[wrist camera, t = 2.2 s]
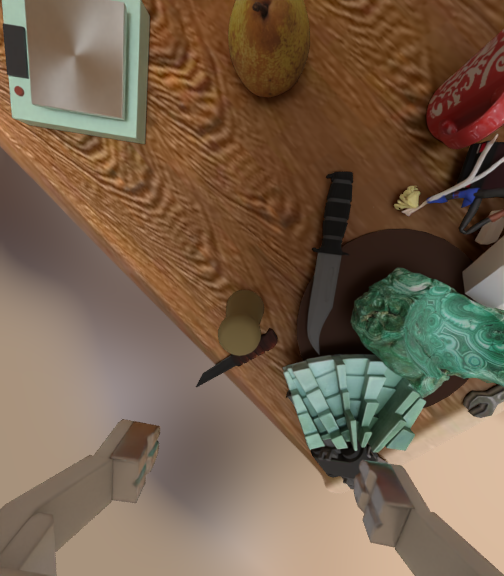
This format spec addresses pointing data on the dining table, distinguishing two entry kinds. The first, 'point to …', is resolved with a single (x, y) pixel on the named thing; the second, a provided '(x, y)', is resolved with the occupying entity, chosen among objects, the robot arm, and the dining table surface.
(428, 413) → the dining table surface
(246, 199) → the dining table surface
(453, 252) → the plate
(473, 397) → the wrench
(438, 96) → the mug
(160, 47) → the dining table surface
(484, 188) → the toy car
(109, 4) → the scale pan
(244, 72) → the fruit
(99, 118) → the scale
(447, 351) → the mineral
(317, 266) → the knife
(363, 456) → the toy gun
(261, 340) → the knife
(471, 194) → the figurine
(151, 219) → the dining table surface
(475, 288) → the white geometric planter
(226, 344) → the brown rounded elongated piece
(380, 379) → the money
